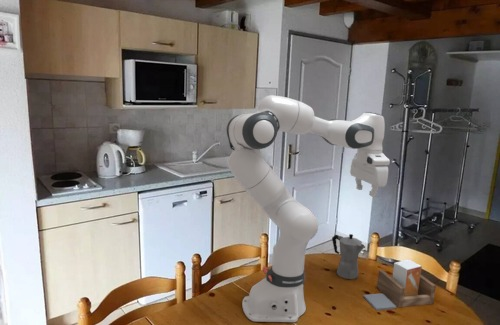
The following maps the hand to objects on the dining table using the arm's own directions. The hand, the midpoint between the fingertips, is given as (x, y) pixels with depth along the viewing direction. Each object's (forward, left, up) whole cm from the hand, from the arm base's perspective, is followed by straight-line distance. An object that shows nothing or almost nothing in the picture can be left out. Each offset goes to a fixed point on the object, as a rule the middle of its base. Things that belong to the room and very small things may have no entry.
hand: (365, 192), depth 136 cm
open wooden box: (+16, -8, -39) cm, 43 cm away
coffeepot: (+1, +12, -39) cm, 41 cm away
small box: (+16, -8, -39) cm, 43 cm away
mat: (+3, -11, -39) cm, 41 cm away
